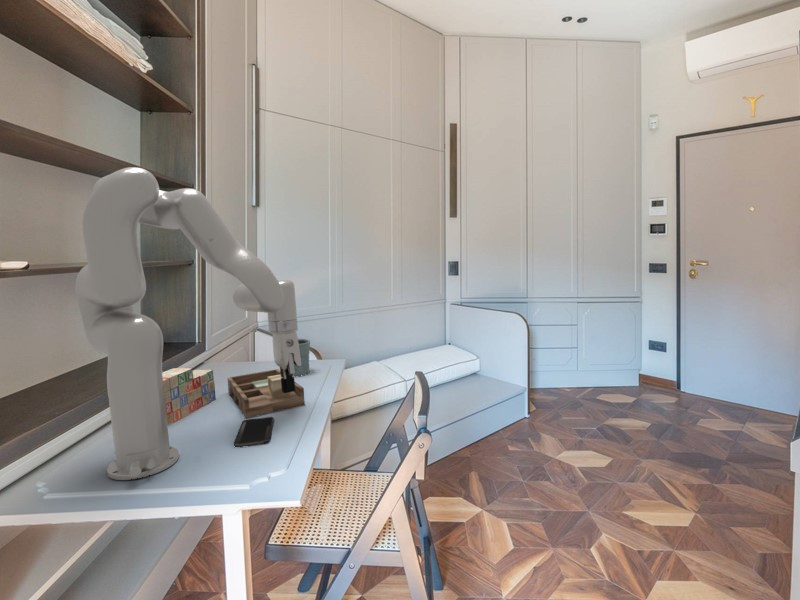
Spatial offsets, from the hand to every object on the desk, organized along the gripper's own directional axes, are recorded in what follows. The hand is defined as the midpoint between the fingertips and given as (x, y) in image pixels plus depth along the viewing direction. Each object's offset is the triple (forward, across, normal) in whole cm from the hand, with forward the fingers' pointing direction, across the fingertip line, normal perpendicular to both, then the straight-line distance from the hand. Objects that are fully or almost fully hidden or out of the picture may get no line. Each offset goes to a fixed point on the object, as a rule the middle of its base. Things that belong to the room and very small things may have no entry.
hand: (288, 391), depth 115 cm
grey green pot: (+6, +35, -13) cm, 38 cm away
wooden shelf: (+5, +14, +4) cm, 15 cm away
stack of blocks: (+5, +17, +25) cm, 31 cm away
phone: (+6, -10, +12) cm, 16 cm away
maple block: (+3, +8, 0) cm, 8 cm away
